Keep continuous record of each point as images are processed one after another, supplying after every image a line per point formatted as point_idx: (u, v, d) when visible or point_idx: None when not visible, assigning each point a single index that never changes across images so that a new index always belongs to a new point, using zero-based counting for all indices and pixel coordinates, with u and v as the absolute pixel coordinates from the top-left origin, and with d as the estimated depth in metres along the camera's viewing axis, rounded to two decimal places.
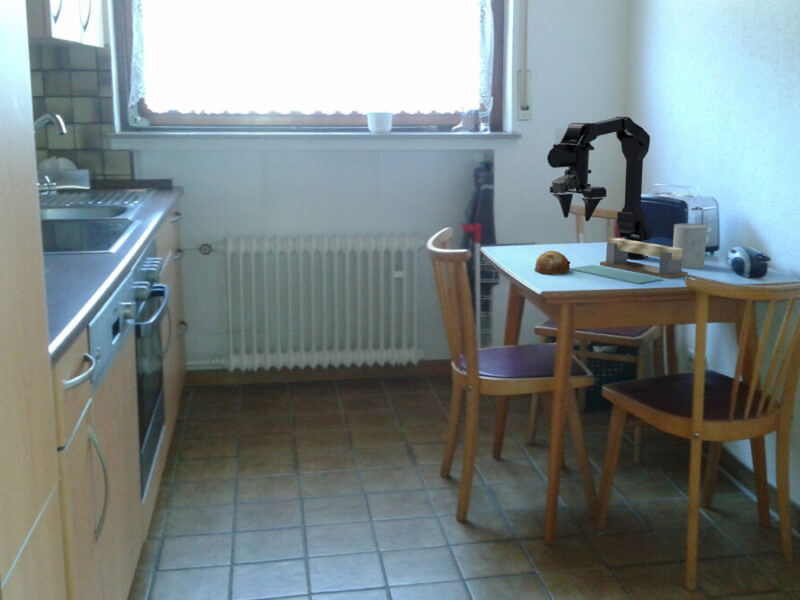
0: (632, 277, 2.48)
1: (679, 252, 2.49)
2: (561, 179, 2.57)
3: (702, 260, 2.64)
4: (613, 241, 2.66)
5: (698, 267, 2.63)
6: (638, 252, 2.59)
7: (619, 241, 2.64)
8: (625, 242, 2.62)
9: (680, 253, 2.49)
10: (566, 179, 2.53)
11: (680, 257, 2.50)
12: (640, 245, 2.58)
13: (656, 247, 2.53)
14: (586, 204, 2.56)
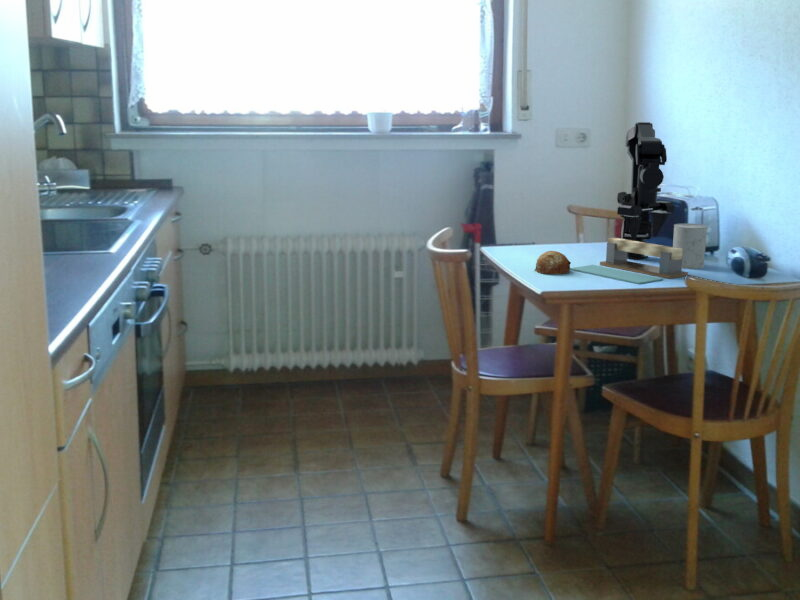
0: (632, 277, 2.48)
1: (679, 252, 2.49)
2: None
3: (702, 260, 2.64)
4: (613, 241, 2.66)
5: (698, 267, 2.63)
6: (638, 252, 2.59)
7: (619, 241, 2.64)
8: (625, 242, 2.62)
9: (680, 253, 2.49)
10: None
11: (680, 257, 2.50)
12: (640, 245, 2.58)
13: (656, 247, 2.53)
14: None
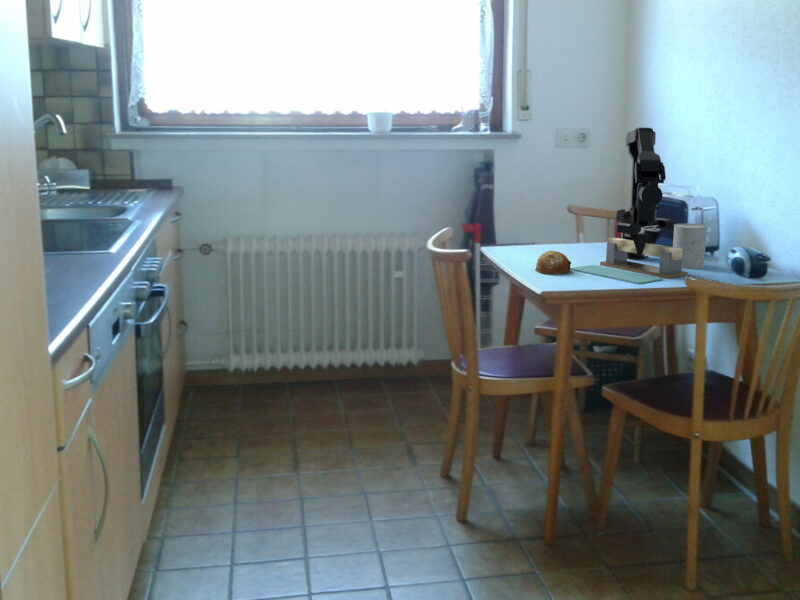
0: (632, 277, 2.48)
1: (679, 252, 2.49)
2: None
3: (702, 260, 2.64)
4: (613, 241, 2.66)
5: (698, 267, 2.63)
6: None
7: (619, 241, 2.64)
8: (625, 242, 2.62)
9: (680, 253, 2.49)
10: None
11: (680, 257, 2.50)
12: None
13: (656, 247, 2.53)
14: None
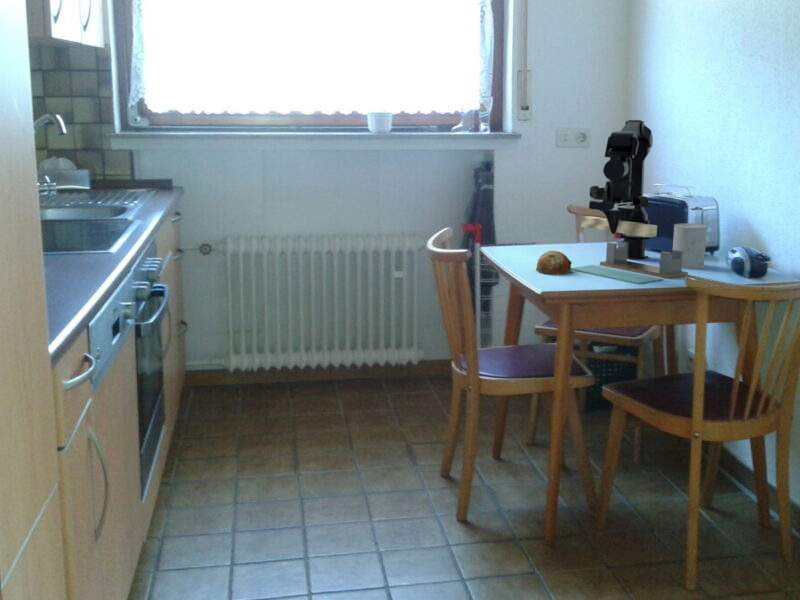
0: (632, 277, 2.48)
1: (653, 229, 2.41)
2: None
3: (702, 260, 2.64)
4: (587, 219, 2.58)
5: (698, 267, 2.63)
6: None
7: (593, 219, 2.56)
8: (599, 220, 2.54)
9: (655, 230, 2.41)
10: None
11: (654, 234, 2.41)
12: None
13: (630, 224, 2.45)
14: None
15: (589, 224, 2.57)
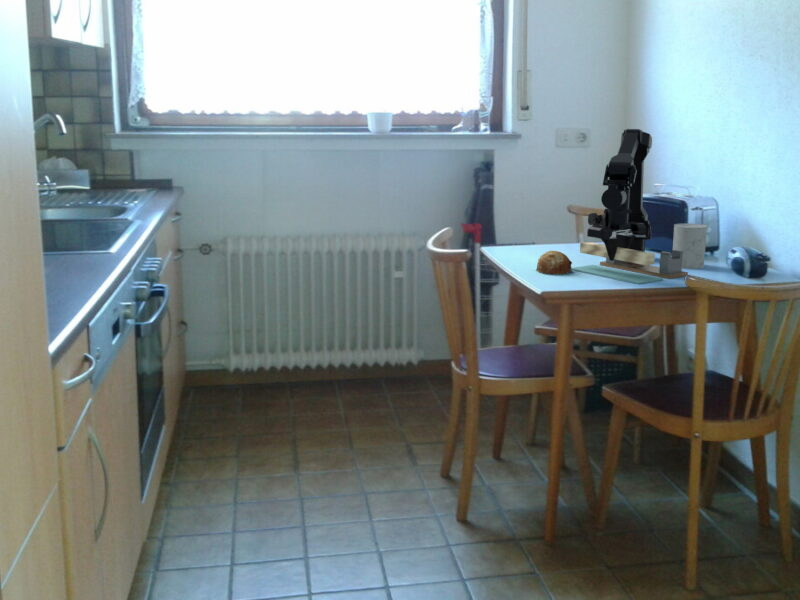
0: (632, 277, 2.48)
1: (651, 257, 2.42)
2: None
3: (702, 260, 2.64)
4: (585, 245, 2.60)
5: (698, 267, 2.63)
6: None
7: (591, 245, 2.58)
8: (597, 246, 2.56)
9: (652, 258, 2.43)
10: None
11: (652, 262, 2.43)
12: None
13: (628, 252, 2.47)
14: None
15: (588, 250, 2.59)
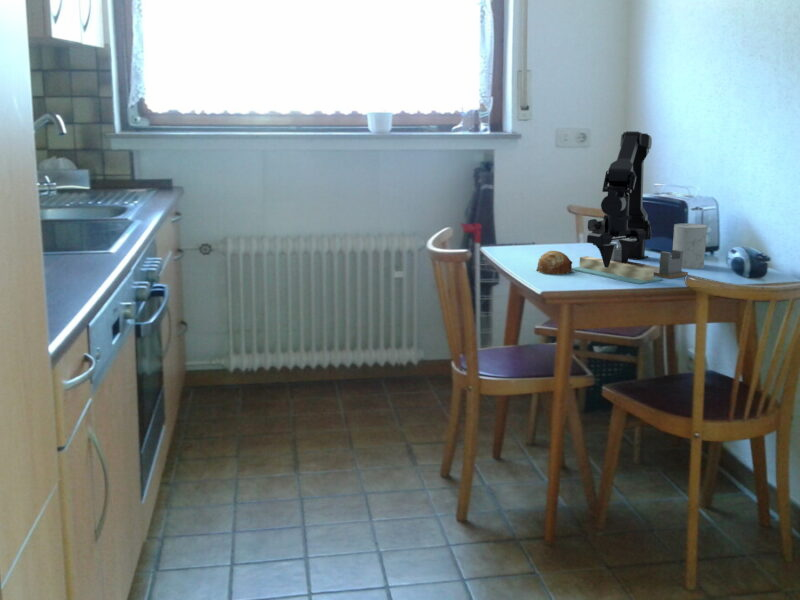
0: None
1: (650, 273, 2.43)
2: None
3: (702, 260, 2.64)
4: (585, 260, 2.61)
5: (698, 267, 2.63)
6: (609, 272, 2.53)
7: (591, 260, 2.59)
8: (597, 261, 2.57)
9: (651, 274, 2.44)
10: None
11: (651, 278, 2.44)
12: (611, 265, 2.52)
13: (627, 267, 2.48)
14: None
15: (587, 265, 2.60)
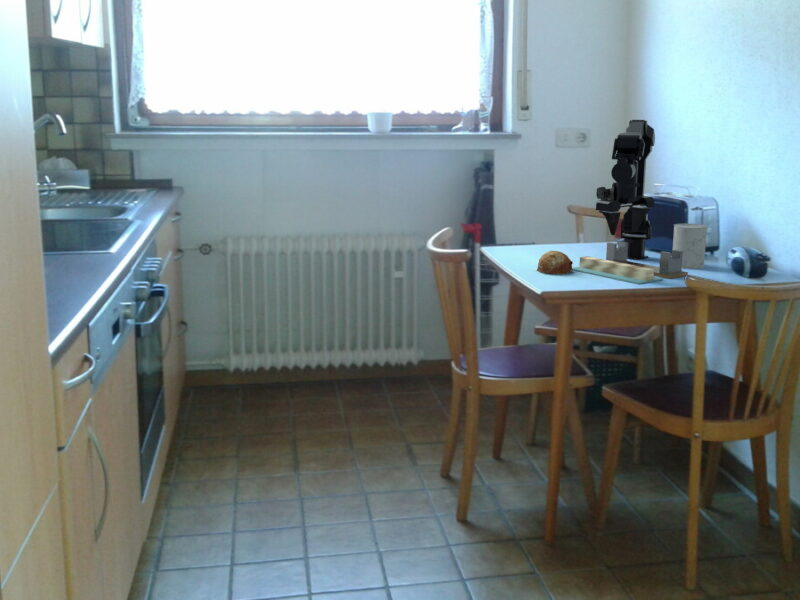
0: None
1: (650, 273, 2.43)
2: None
3: (702, 260, 2.64)
4: (585, 260, 2.61)
5: (698, 267, 2.63)
6: (609, 272, 2.53)
7: (591, 260, 2.59)
8: (597, 261, 2.57)
9: (651, 274, 2.44)
10: None
11: (651, 278, 2.44)
12: (611, 265, 2.52)
13: (627, 267, 2.48)
14: None
15: (587, 265, 2.60)
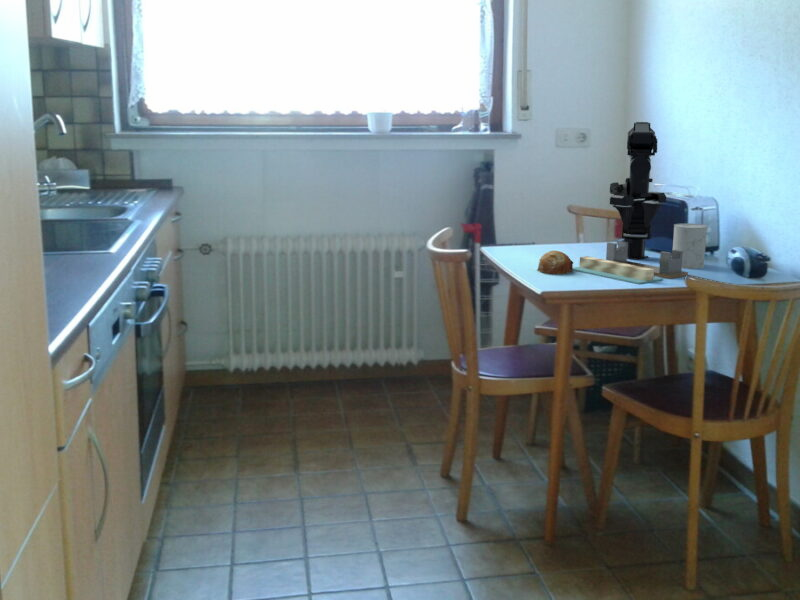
0: None
1: (650, 273, 2.43)
2: None
3: (702, 260, 2.64)
4: (585, 260, 2.61)
5: (698, 267, 2.63)
6: (609, 272, 2.53)
7: (591, 260, 2.59)
8: (597, 261, 2.57)
9: (651, 274, 2.44)
10: None
11: (651, 278, 2.44)
12: (611, 265, 2.52)
13: (627, 267, 2.48)
14: None
15: (587, 265, 2.60)
